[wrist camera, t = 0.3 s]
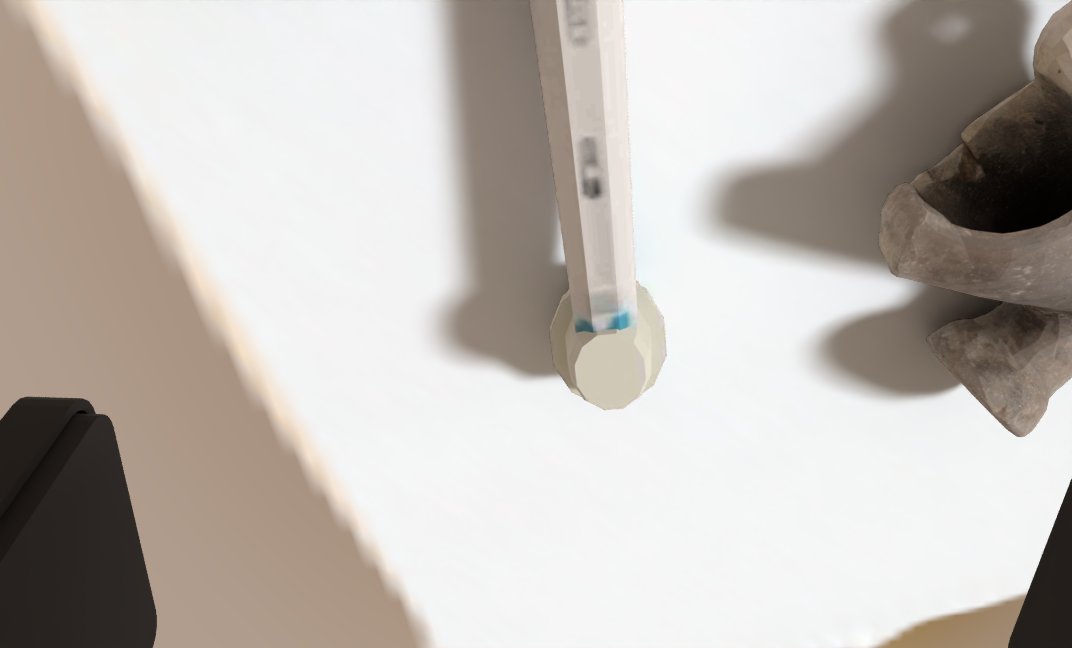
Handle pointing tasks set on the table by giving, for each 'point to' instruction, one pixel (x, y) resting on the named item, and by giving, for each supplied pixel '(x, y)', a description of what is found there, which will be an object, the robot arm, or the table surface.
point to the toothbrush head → (595, 205)
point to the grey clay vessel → (1001, 239)
